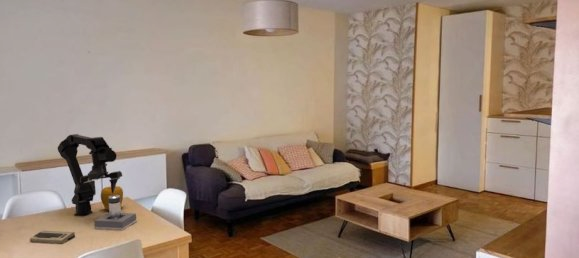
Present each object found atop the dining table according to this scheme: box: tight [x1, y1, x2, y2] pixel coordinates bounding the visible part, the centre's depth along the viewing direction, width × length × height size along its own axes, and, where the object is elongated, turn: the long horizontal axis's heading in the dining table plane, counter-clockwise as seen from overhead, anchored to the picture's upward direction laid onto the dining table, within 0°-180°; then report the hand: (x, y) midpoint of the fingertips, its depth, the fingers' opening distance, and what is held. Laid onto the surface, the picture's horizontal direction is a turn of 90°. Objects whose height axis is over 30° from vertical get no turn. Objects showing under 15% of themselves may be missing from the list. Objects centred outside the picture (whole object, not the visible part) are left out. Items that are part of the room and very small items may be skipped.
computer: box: [29, 230, 76, 245], centre depth 177 cm, size 16×8×3 cm, turn 80°
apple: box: [100, 185, 124, 211], centre depth 219 cm, size 11×11×13 cm
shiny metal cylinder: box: [108, 195, 122, 219], centre depth 194 cm, size 5×5×13 cm
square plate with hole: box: [93, 212, 137, 231], centre depth 195 cm, size 14×12×4 cm
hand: (103, 193), depth 202 cm, fingers open, 9 cm apart
